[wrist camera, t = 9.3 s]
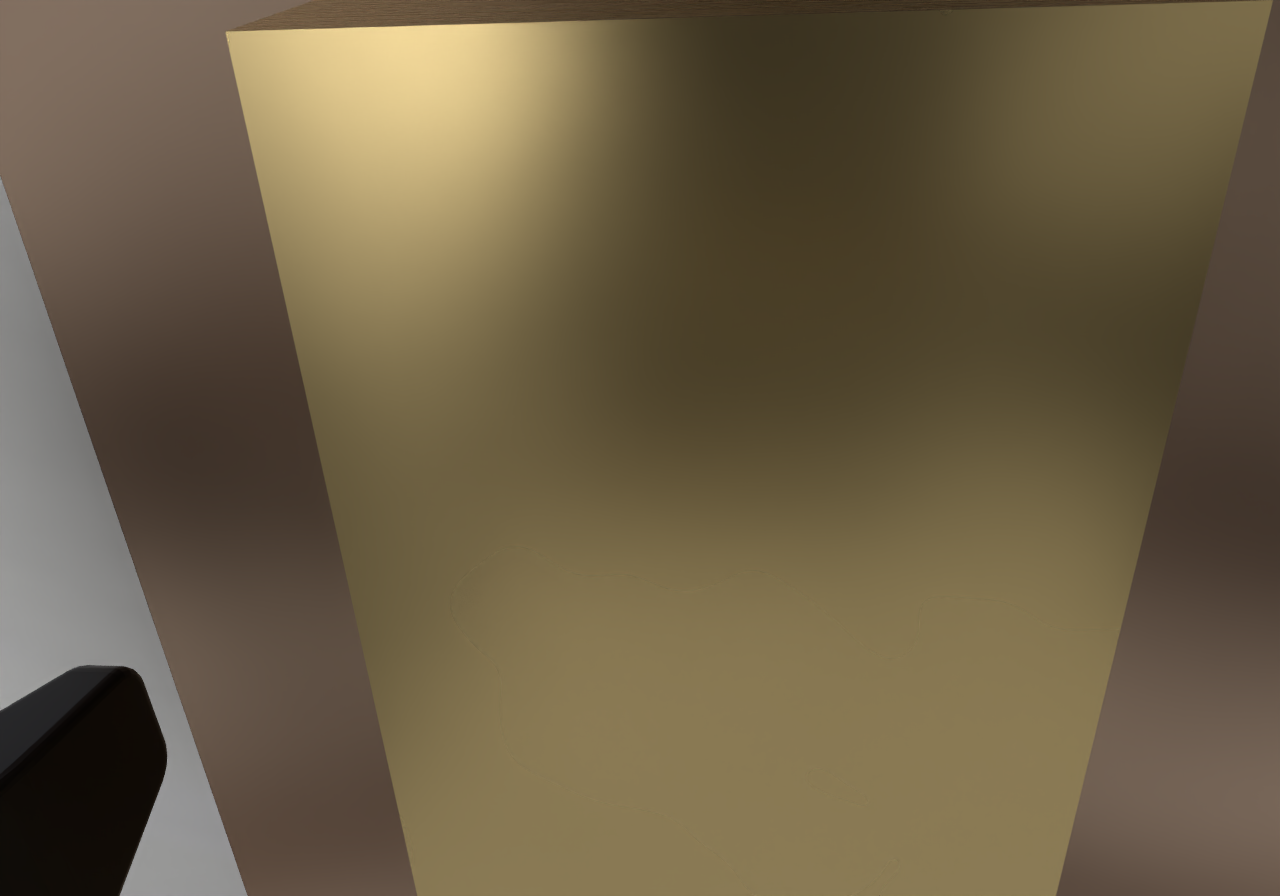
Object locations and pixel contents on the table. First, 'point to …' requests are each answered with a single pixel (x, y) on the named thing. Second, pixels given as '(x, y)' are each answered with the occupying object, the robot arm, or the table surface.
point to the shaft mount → (305, 530)
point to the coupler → (742, 412)
